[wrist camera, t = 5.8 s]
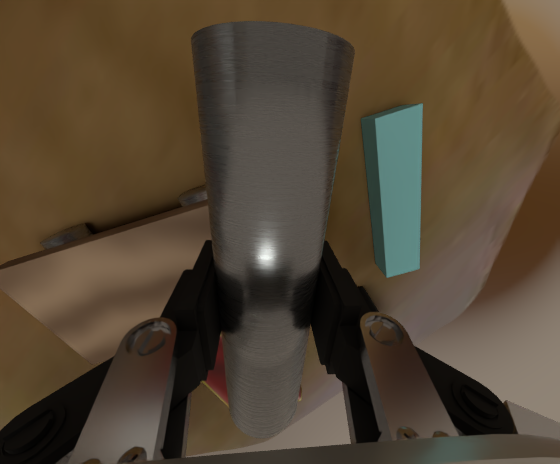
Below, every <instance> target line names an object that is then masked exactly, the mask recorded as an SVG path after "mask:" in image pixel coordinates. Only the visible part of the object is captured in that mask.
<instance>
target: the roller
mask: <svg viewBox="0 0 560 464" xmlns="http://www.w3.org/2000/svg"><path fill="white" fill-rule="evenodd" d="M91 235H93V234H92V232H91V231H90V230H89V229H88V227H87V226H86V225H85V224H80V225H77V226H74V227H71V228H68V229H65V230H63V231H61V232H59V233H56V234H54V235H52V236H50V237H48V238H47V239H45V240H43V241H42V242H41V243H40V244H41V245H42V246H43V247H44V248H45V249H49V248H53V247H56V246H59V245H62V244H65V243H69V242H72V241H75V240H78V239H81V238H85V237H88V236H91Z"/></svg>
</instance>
